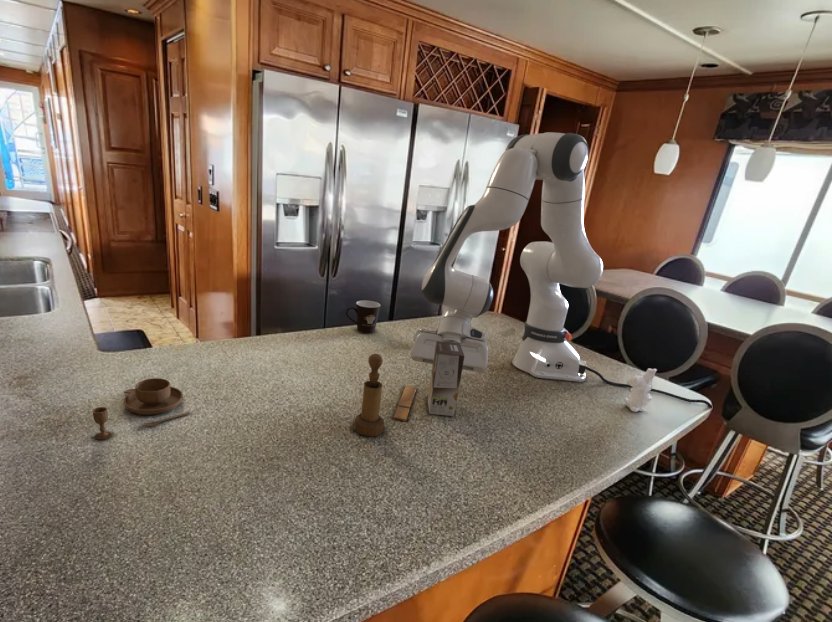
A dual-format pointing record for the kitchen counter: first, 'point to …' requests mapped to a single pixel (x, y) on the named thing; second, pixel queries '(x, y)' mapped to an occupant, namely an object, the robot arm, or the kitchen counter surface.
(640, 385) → the white animal figurine
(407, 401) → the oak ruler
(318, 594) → the kitchen counter surface
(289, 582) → the kitchen counter surface
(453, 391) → the coffee box
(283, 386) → the kitchen counter surface
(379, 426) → the mortar and pestle
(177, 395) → the place setting
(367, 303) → the coffee mug
